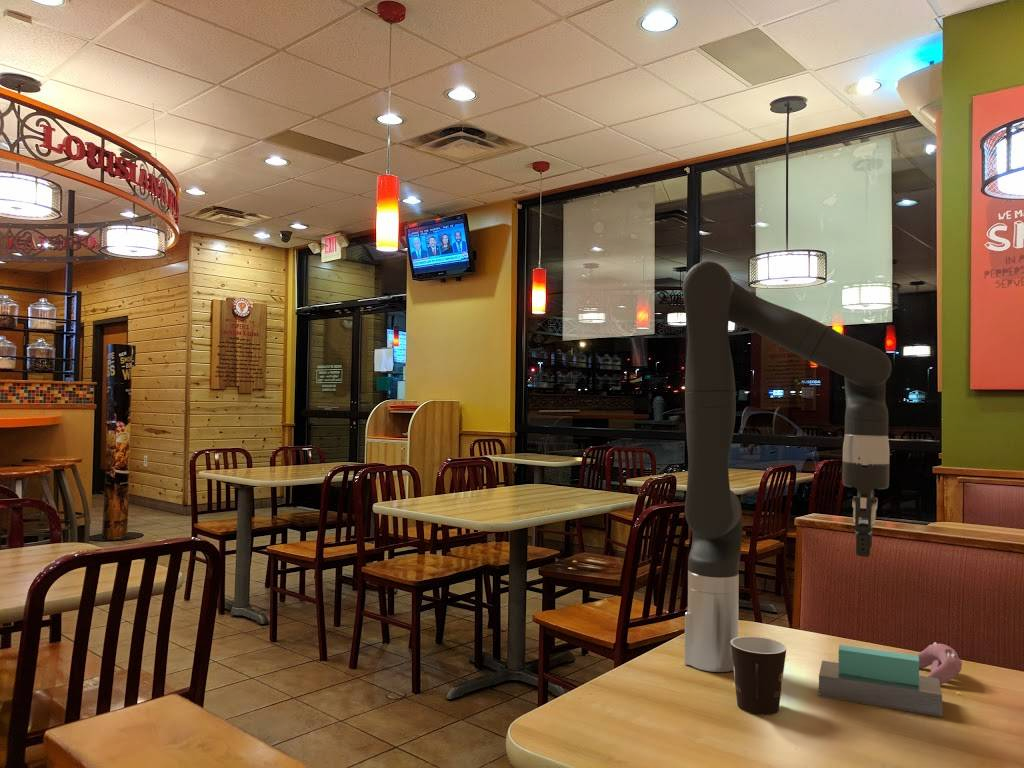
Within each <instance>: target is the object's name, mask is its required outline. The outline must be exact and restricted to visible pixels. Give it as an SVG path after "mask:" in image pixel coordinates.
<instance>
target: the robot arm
mask: <svg viewBox="0 0 1024 768" xmlns="http://www.w3.org/2000/svg"><path fill="white" fill-rule="evenodd" d="M682 296H683V303H684V311H685V317H686V326H687V327H686V328H687V347H686V359H685V360H686V361H685V374H684V376H685V377H684V379H685V380H684V407H685V408H684V410H685V411H684V412H685V413H684V414H685V431H686V447H687V457H688V458H687V459H688V464H687V466H688V468H687V481H686V493H685V504H684V515H685V517H684V518H685V521H686V522H687V525H688V526H689V529H691V531H692V538H691V539H692V541H691V545H690V546H691V548H690V551H689V554H688V559H687V560H688V561H687V610H686V612H685V613H684V665H686V666H687V665H688V666H691V667H693V668H695V669H698V670H701V671H706V672H713V673H715V672H716V673H725V672H726V673H727V672H732V671H734V669H733V660H732V651H731V640H732V639H734V638H737V637H739V601H740V600H739V589H740V588H739V584H740V583H739V582H740V581H739V578H740V577H739V575H740V574H739V571H740V569H739V568H740V561H741V554H742V535H743V534H742V528H743V525H742V523H743V521H742V520H743V513H742V506H741V502H740V499H739V498H738V497H739V496H738V495H736V493H735V492H733V490H731V486H730V474H729V470H730V469H729V461H730V452H731V447H732V443H733V442H732V441H733V436H734V432H735V431H734V430H735V424H736V415H737V413H736V412H737V411H736V410H737V409H736V408H737V406H736V405H737V403H736V401H737V400H736V381H735V379H736V378H735V370H734V364H733V357H732V352H731V348H730V341H729V322H731V323H734V324H736V325H739V326H741V327H743V328H745V329H748V330H750V331H752V332H754V333H756V334H758V335H759V336H761V337H763V338H765V339H767V340H769V341H770V342H772V343H774V344H775V345H777V346H779V347H781V348H783V349H785V350H786V351H789V352H791V353H792V354H794V355H797V356H799V358H802V359H804V360H807V361H808V362H810V363H813V364H815V365H816V366H817V365H818V366H821V367H825V368H827V369H829V370H831V371H833V372H834V373H837V374H838V375H841V376H842V377H844V391H845V392H844V393H845V405H846V407H845V413H844V437H843V438H844V439H843V444H842V474H841V475H842V479H841V480H842V485H843V486H844V487H848V488H854V489H857V492H856V493H857V494H856V495H857V496H855V495H853V497H852V499H851V501H852V508H853V511H852V521H853V523H854V527H853V530H854V532H855V534H856V536H855V537H856V539H855V543H856V544H855V554H856V555H857V556H858V557H865V558H869V557H870V556H871V549H872V547H873V528H874V526H875V523H876V519H877V509H878V497H875V494H876V493H875V490H886V489H888V488H889V486H890V442H889V410H888V407H887V404H886V387H887V386H886V384H887V381H888V379H889V378H890V376H891V374H892V373H891V372H892V368H893V366H892V362H891V359H890V358H889V355H887V353H885V351H882V350H881V349H880V348H877V347H875V346H873V345H870V344H868V343H866V342H864V341H861V340H858V339H856V338H853V337H852V336H848V335H845V334H842V333H840V332H839V331H837V330H836V329H834V328H832V327H831V326H828V325H826V324H824V323H822V322H820V321H818V320H816V319H813V318H811V317H810V316H807V315H805V314H802V313H800V312H797V311H794V310H792V309H789V308H787V307H784V306H781V305H779V304H775V303H772V302H771V301H768V300H765V299H764V298H761V297H760V296H757V295H755V294H754V293H752V292H750V291H748V290H747V289H746V288H744V287H743V286H741V285H740V284H738V283H737V282H736V281H734V280H733V278H732V276H731V274H730V272H729V271H728V270H727V268H725V267H724V266H723V265H721V264H719V263H717V262H715V261H709V260H707V261H705V260H704V261H701V262H698V263H696V264H694V265H693V266H692V267H691V268H690V269H688V271H687V272H686V274H685V275H684V278H683V281H682Z"/></svg>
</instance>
